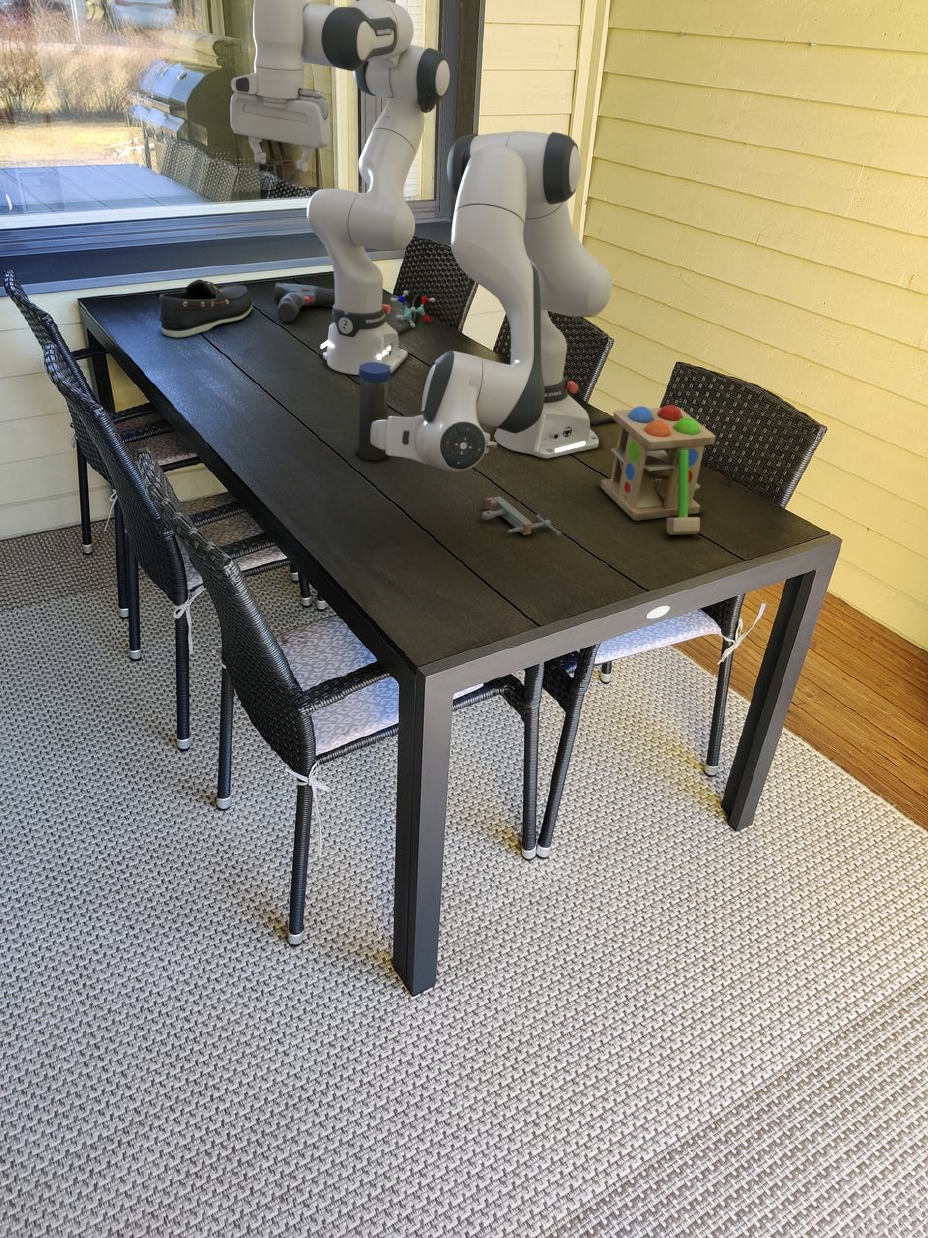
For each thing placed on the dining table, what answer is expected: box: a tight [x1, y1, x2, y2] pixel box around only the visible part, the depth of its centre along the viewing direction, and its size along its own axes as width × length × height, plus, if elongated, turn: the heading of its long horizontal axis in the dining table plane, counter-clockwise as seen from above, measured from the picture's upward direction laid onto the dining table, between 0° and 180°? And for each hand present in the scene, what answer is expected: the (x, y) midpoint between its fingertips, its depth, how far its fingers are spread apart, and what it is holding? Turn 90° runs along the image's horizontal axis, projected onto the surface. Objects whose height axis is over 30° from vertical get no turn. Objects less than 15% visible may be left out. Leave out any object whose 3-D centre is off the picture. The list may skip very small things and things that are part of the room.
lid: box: [358, 362, 392, 383], centre depth 187 cm, size 6×6×2 cm
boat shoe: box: [158, 278, 254, 338], centre depth 253 cm, size 13×33×10 cm, turn 147°
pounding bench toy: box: [599, 404, 716, 536], centre depth 182 cm, size 23×14×18 cm, turn 20°
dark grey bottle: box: [358, 378, 390, 462], centre depth 192 cm, size 5×5×18 cm
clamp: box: [481, 496, 563, 537], centre depth 177 cm, size 15×2×10 cm
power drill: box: [274, 282, 335, 322], centre depth 265 cm, size 5×19×20 cm
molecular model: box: [390, 290, 436, 329], centre depth 265 cm, size 12×10×10 cm
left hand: (281, 166), depth 187 cm, fingers open, 8 cm apart
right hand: (422, 436), depth 173 cm, fingers open, 8 cm apart
